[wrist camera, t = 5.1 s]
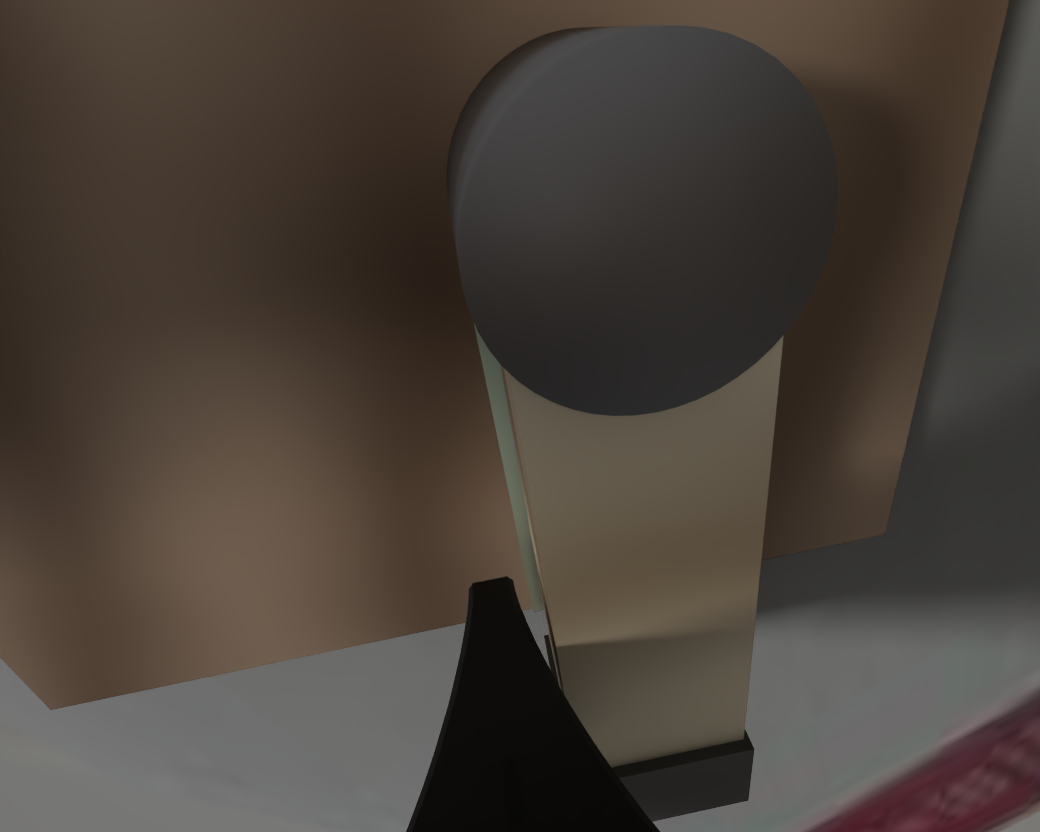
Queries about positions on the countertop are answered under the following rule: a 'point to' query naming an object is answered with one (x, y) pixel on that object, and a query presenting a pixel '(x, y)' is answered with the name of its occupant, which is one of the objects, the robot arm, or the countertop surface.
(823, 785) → the countertop surface
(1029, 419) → the countertop surface
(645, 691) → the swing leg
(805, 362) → the wooden board
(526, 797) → the robot arm
